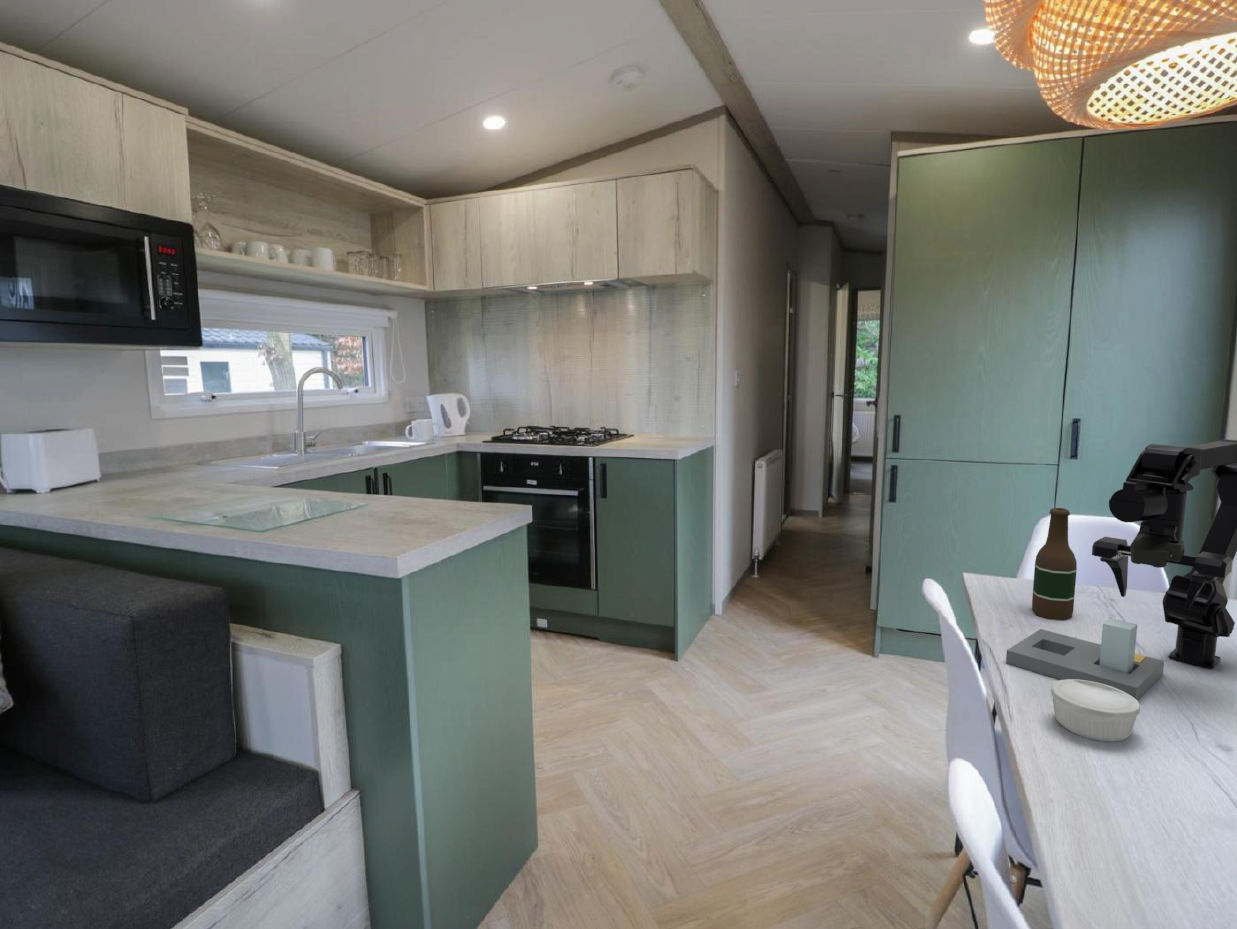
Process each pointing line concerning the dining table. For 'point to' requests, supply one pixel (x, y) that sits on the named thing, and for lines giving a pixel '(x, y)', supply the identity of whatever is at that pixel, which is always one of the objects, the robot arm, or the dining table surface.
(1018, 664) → the socket panel
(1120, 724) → the ramekin
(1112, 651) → the plug
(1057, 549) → the beer bottle
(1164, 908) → the dining table surface
